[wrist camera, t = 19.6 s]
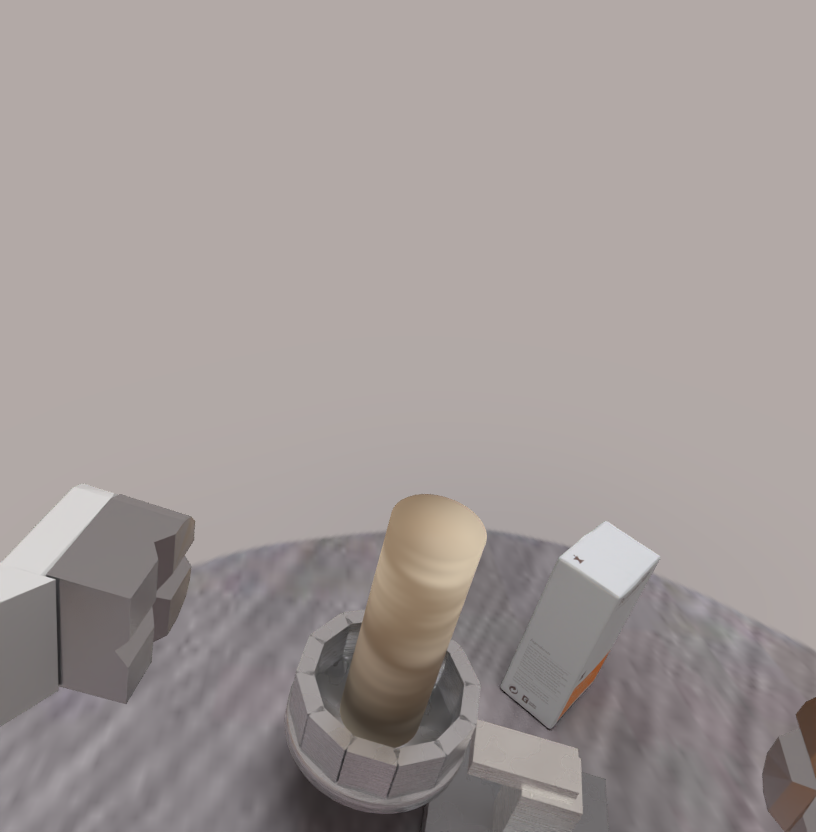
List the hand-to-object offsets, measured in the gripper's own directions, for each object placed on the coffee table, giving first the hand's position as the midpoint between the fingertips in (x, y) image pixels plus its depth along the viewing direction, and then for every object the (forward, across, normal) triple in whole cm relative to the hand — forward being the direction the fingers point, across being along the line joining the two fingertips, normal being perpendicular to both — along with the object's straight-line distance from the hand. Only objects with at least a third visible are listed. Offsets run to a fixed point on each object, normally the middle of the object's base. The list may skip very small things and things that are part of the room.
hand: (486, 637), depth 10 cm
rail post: (+17, 0, +24) cm, 29 cm away
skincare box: (+29, -11, +32) cm, 45 cm away
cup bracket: (+17, -5, +32) cm, 37 cm away
